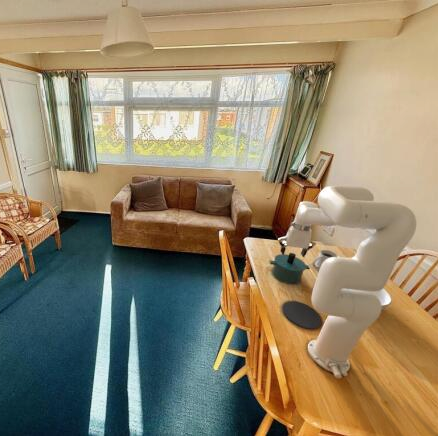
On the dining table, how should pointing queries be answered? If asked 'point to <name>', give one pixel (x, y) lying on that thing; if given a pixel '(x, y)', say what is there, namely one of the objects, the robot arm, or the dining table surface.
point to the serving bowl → (382, 297)
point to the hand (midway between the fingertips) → (292, 254)
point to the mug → (323, 258)
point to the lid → (290, 262)
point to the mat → (301, 315)
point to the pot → (286, 274)
